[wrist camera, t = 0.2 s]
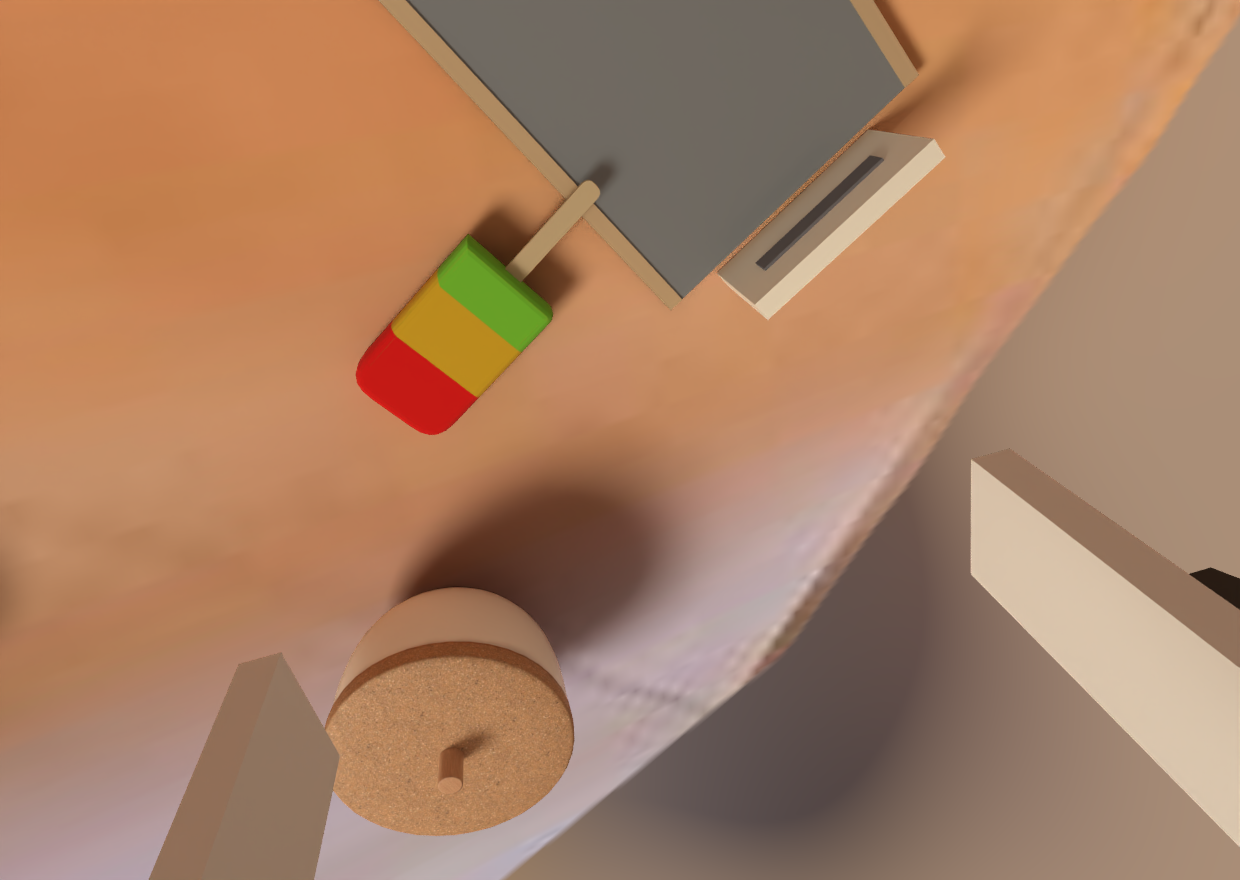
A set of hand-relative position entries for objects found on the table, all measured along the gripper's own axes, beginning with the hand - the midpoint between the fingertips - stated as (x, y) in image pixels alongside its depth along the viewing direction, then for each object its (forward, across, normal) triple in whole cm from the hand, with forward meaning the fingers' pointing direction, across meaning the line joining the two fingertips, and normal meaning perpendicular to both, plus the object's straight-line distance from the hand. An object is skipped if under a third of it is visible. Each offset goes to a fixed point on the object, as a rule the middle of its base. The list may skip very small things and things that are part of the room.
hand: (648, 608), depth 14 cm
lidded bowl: (+26, -11, -20) cm, 35 cm away
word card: (+26, +13, 0) cm, 29 cm away
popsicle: (+26, -3, 0) cm, 26 cm away
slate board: (+26, +8, +10) cm, 29 cm away
